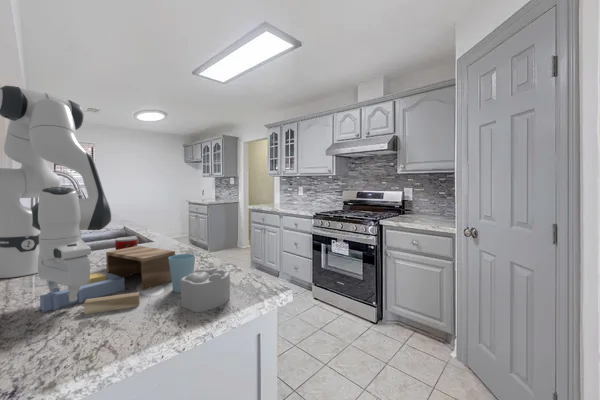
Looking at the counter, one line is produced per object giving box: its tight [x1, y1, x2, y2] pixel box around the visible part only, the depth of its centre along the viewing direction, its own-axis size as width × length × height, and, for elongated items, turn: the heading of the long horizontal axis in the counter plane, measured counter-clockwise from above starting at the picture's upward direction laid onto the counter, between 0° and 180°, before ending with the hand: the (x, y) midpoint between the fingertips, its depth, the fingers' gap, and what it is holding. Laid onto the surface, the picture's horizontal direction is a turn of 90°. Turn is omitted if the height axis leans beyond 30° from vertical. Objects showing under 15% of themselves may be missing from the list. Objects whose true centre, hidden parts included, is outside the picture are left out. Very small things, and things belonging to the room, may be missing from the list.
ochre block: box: [88, 272, 106, 284], centre depth 90 cm, size 6×4×4 cm
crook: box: [39, 273, 125, 313], centre depth 84 cm, size 10×19×4 cm, turn 146°
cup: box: [168, 253, 196, 294], centre depth 89 cm, size 8×8×10 cm
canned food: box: [114, 236, 138, 250], centre depth 119 cm, size 8×8×11 cm
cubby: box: [105, 245, 176, 291], centre depth 98 cm, size 20×12×10 cm, turn 62°
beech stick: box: [83, 291, 141, 315], centre depth 76 cm, size 3×12×3 cm, turn 115°
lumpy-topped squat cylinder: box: [180, 267, 231, 313], centre depth 80 cm, size 10×13×9 cm
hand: (63, 297), depth 78 cm, fingers open, 8 cm apart
